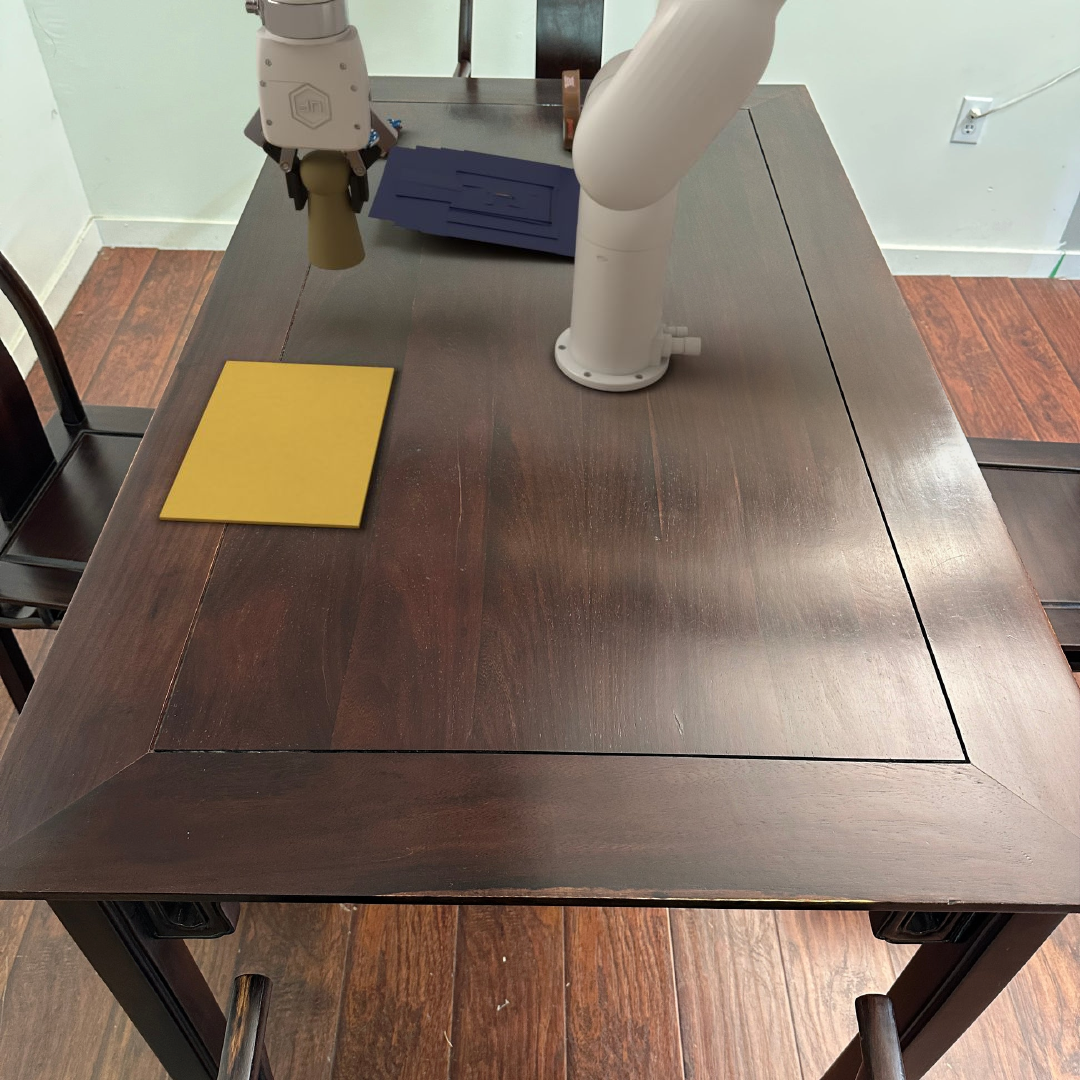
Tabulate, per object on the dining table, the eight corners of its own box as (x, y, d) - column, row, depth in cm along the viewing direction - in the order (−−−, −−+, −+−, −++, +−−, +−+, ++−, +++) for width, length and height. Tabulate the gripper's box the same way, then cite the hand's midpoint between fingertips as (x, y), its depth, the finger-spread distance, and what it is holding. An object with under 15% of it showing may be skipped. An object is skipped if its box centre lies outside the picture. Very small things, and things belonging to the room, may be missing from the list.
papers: (392, 158, 136) (393, 133, 134) (600, 192, 139) (605, 168, 136) (364, 244, 120) (365, 217, 117) (602, 281, 122) (608, 256, 120)
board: (394, 370, 104) (394, 367, 104) (359, 528, 87) (358, 525, 87) (227, 363, 104) (226, 360, 104) (159, 520, 87) (158, 517, 87)
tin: (581, 159, 141) (584, 100, 135) (559, 158, 141) (562, 100, 135) (579, 117, 152) (582, 61, 146) (559, 116, 152) (562, 60, 146)
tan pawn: (354, 273, 101) (342, 171, 93) (299, 266, 101) (283, 163, 93) (373, 245, 105) (363, 145, 97) (320, 238, 105) (306, 138, 98)
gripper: (198, 23, 83) (238, 219, 96) (396, 33, 83) (409, 227, 96) (221, -5, 89) (255, 185, 102) (407, 4, 89) (418, 192, 102)
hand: (330, 204), depth 99 cm, fingers closed on tan pawn, 5 cm apart
